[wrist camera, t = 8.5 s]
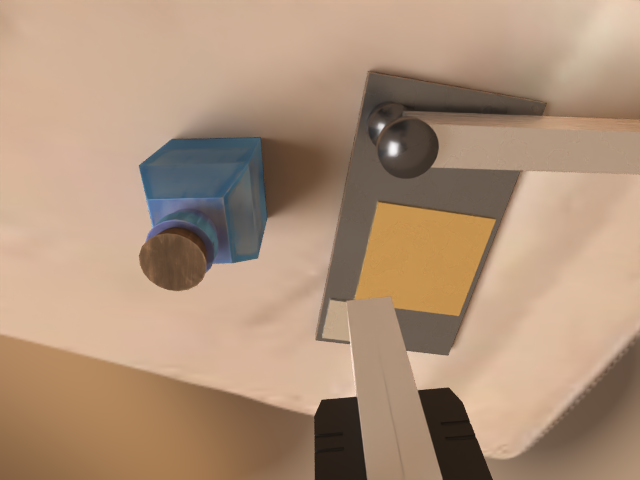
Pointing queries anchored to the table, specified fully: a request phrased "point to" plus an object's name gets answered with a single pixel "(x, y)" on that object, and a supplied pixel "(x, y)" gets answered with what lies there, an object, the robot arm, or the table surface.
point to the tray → (415, 220)
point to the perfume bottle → (202, 208)
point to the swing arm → (508, 143)
